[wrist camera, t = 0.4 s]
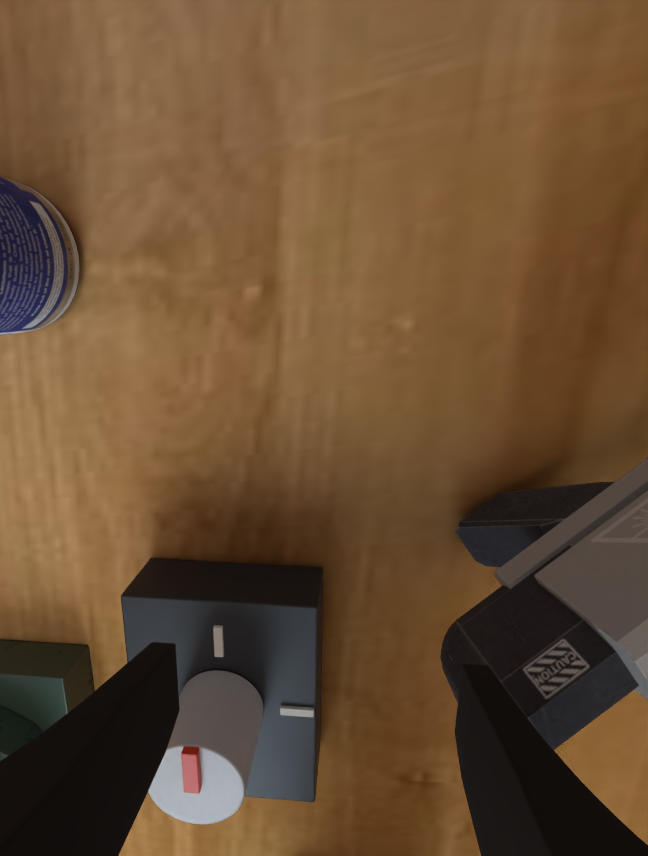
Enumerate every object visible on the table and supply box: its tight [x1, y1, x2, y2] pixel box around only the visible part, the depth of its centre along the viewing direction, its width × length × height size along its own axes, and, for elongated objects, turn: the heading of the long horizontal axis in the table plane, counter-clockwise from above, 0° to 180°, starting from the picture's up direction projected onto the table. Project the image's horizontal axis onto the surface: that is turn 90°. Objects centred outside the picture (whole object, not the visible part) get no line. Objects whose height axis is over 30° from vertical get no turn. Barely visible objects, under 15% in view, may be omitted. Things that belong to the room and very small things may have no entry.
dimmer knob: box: [148, 670, 264, 824], centre depth 19 cm, size 4×4×4 cm
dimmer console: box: [121, 558, 323, 802], centre depth 23 cm, size 10×8×3 cm
